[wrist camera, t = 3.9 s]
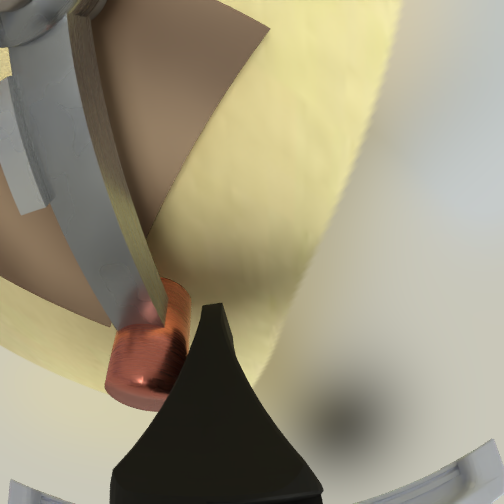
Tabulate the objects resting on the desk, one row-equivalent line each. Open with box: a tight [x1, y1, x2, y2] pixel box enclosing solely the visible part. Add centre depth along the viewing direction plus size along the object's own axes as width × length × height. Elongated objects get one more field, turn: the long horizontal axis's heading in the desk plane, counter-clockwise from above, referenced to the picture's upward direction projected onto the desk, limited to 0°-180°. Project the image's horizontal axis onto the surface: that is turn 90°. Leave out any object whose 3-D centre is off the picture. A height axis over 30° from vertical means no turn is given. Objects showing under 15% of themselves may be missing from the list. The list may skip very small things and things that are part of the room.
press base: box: [0, 0, 270, 327], centre depth 7 cm, size 14×7×5 cm, turn 148°
